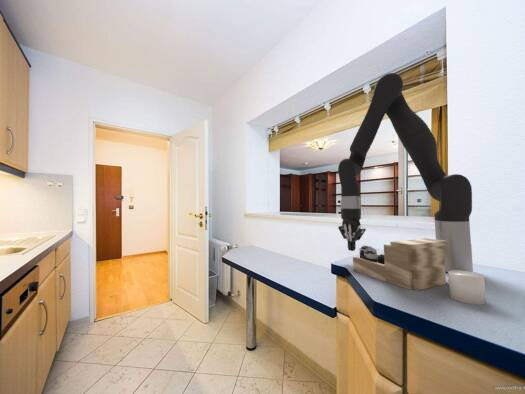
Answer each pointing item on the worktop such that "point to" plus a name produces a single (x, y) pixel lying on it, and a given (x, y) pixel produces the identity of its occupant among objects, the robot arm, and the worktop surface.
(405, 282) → the wooden stepped block
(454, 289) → the cream rounded block
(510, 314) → the worktop surface
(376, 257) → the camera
